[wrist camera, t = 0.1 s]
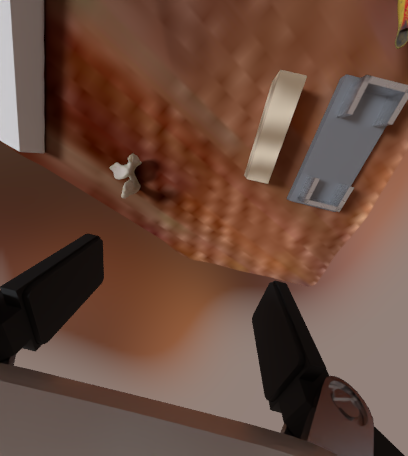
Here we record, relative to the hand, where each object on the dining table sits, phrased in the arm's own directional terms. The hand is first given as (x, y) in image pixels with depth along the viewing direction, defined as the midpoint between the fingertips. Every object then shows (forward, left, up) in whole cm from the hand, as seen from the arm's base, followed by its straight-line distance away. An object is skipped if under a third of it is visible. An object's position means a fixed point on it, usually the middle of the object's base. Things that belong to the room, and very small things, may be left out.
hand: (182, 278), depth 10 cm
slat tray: (-11, +21, -31) cm, 39 cm away
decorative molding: (-15, -40, -31) cm, 53 cm away
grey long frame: (-11, +21, -30) cm, 38 cm away
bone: (+2, -18, -31) cm, 36 cm away
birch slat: (-11, +8, -31) cm, 34 cm away
